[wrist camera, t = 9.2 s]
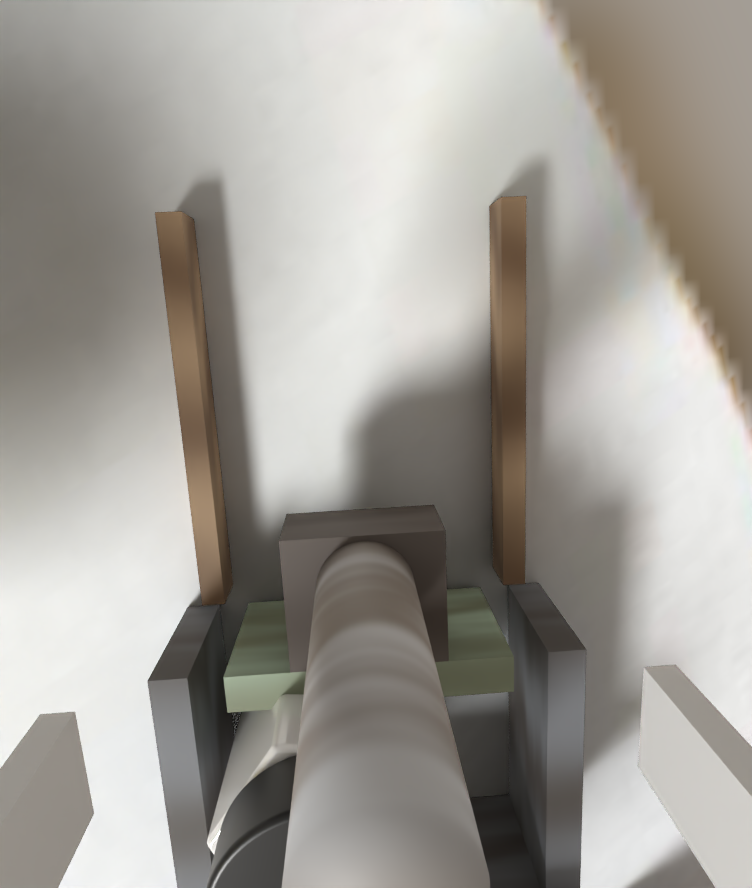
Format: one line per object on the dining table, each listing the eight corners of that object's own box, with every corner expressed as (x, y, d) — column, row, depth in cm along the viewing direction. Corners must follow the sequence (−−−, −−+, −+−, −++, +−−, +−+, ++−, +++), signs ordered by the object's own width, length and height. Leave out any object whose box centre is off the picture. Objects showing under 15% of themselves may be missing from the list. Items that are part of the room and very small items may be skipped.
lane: (139, 221, 25) (28, 171, 16) (541, 203, 26) (642, 145, 17) (217, 842, 32) (168, 1044, 23) (536, 816, 32) (607, 1003, 24)
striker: (237, 496, 27) (40, 823, 10) (478, 481, 28) (707, 769, 10) (251, 631, 29) (102, 1130, 11) (480, 615, 29) (684, 1073, 12)
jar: (451, 718, 31) (515, 966, 19) (310, 785, 31) (288, 1068, 20) (372, 574, 29) (389, 751, 17) (223, 648, 29) (141, 869, 18)
